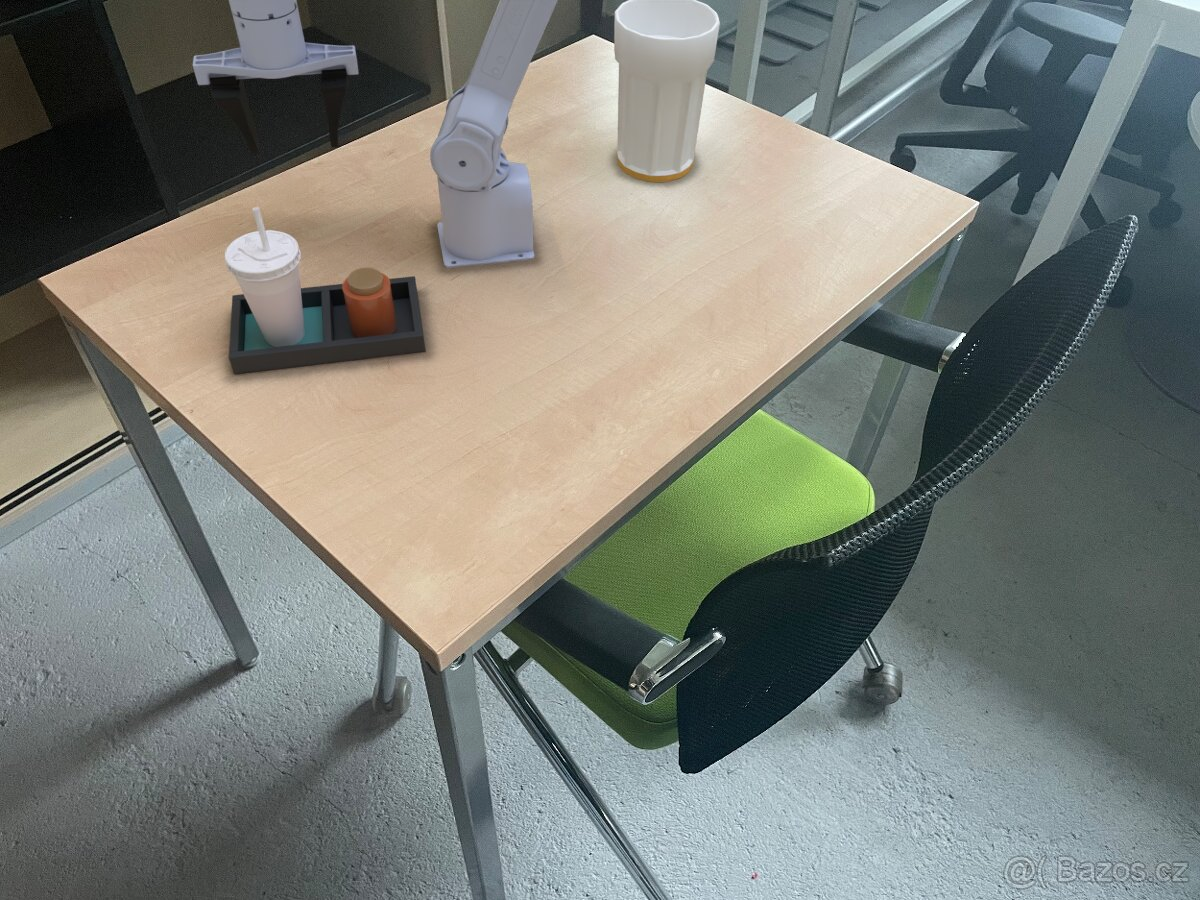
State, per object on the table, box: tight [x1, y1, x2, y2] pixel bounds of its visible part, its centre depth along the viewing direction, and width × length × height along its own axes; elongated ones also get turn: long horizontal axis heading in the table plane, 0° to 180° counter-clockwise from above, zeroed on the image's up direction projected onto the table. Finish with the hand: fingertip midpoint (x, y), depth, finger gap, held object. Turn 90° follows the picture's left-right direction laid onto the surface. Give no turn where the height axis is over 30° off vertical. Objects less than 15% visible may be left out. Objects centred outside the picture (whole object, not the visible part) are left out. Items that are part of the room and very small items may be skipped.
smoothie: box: [224, 206, 305, 347], centre depth 85 cm, size 6×6×14 cm
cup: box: [613, 0, 721, 183], centre depth 108 cm, size 11×11×17 cm
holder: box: [228, 275, 427, 375], centre depth 91 cm, size 9×17×2 cm, turn 103°
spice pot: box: [342, 267, 397, 338], centre depth 90 cm, size 4×4×6 cm
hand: (295, 145), depth 95 cm, fingers open, 7 cm apart
